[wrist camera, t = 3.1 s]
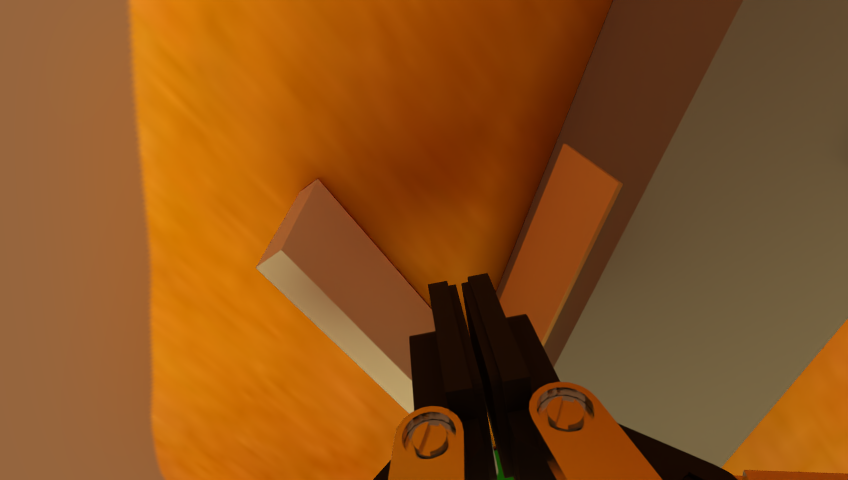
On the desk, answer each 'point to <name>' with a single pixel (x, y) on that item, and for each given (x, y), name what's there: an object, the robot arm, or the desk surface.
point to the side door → (348, 289)
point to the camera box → (694, 216)
